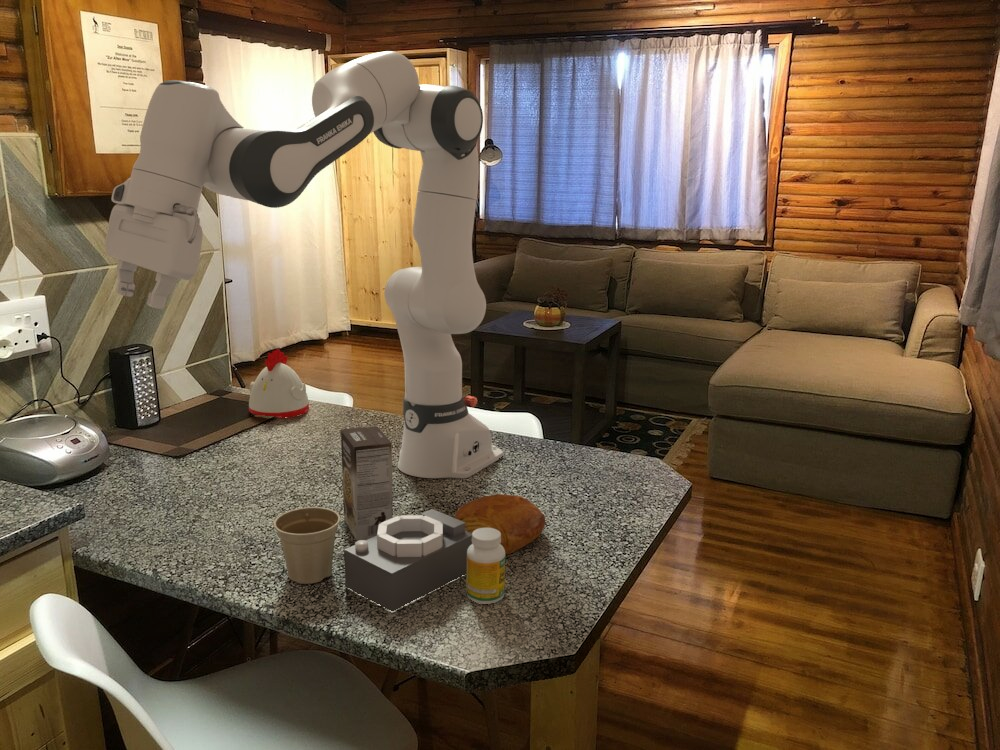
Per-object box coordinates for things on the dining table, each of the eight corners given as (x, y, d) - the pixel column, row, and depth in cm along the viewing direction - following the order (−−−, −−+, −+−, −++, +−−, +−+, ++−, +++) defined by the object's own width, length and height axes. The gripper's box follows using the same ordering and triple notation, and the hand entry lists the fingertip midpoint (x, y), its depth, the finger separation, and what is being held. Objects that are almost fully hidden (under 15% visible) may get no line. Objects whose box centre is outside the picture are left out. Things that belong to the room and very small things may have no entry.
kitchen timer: (237, 415, 191) (233, 353, 187) (270, 400, 204) (267, 341, 200) (288, 422, 187) (285, 359, 183) (319, 406, 200) (317, 346, 196)
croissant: (557, 548, 133) (564, 502, 132) (497, 570, 121) (504, 519, 120) (491, 520, 142) (497, 477, 141) (429, 538, 130) (435, 490, 129)
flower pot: (267, 569, 120) (263, 515, 118) (326, 553, 125) (324, 501, 123) (290, 597, 113) (287, 540, 111) (353, 578, 118) (351, 524, 116)
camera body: (426, 549, 127) (426, 502, 125) (473, 571, 121) (474, 521, 119) (345, 587, 115) (343, 536, 113) (392, 613, 109) (391, 559, 107)
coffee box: (342, 519, 137) (339, 428, 133) (379, 513, 140) (377, 424, 136) (355, 542, 129) (352, 446, 125) (394, 535, 132) (392, 441, 128)
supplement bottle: (466, 586, 117) (467, 524, 114) (503, 586, 117) (505, 524, 114) (466, 606, 111) (466, 542, 109) (505, 606, 112) (506, 542, 109)
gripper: (223, 215, 104) (198, 320, 105) (151, 200, 117) (129, 293, 118) (177, 201, 99) (151, 311, 100) (107, 187, 112) (85, 284, 113)
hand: (139, 301), depth 109 cm, fingers open, 8 cm apart
